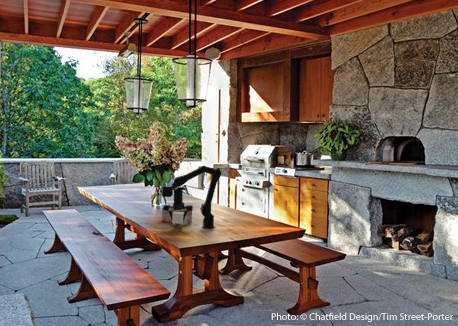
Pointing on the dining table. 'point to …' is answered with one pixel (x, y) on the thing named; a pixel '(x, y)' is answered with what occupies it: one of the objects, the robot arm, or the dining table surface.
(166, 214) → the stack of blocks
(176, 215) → the white cover
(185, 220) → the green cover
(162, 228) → the slate pad
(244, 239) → the dining table surface
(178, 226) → the letter cube
